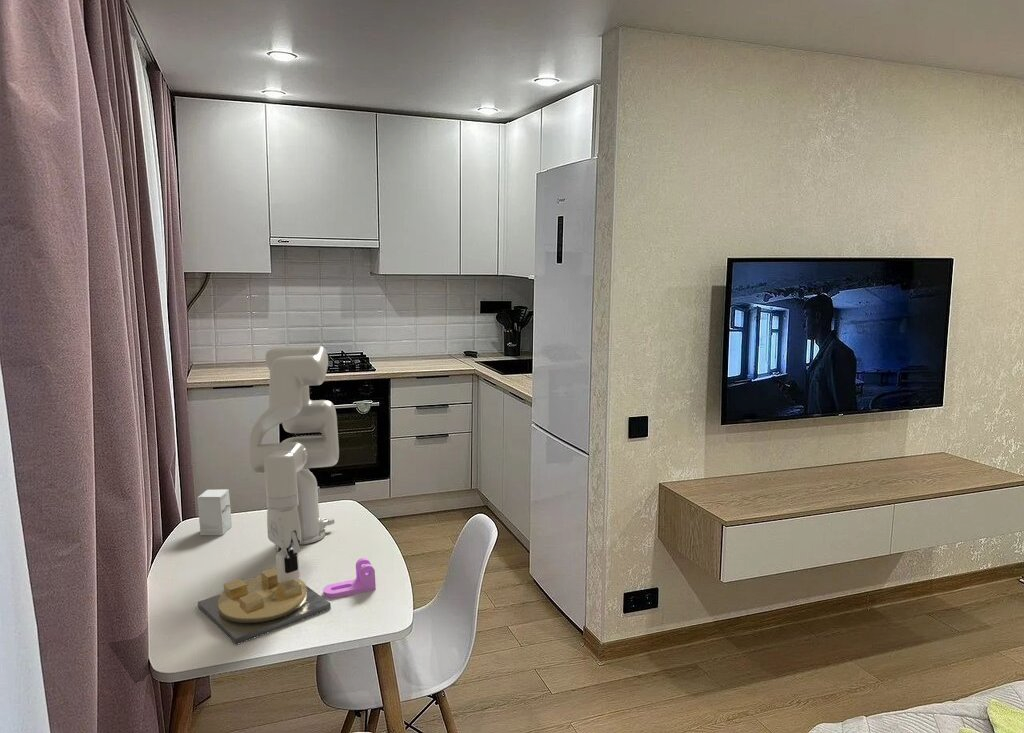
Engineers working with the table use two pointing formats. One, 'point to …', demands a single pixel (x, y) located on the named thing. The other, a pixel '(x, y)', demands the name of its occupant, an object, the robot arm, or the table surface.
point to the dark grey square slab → (251, 630)
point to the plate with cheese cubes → (261, 598)
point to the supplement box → (214, 512)
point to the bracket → (354, 582)
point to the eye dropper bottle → (280, 567)
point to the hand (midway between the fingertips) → (287, 568)
